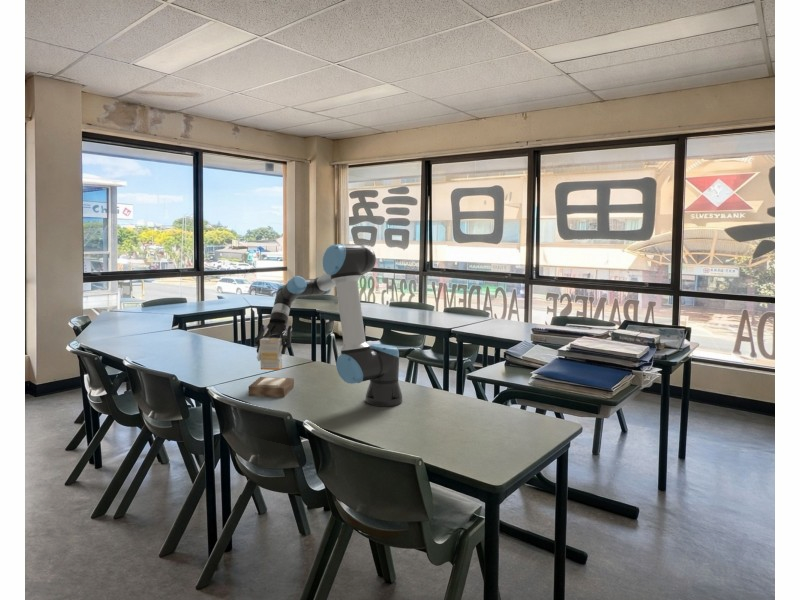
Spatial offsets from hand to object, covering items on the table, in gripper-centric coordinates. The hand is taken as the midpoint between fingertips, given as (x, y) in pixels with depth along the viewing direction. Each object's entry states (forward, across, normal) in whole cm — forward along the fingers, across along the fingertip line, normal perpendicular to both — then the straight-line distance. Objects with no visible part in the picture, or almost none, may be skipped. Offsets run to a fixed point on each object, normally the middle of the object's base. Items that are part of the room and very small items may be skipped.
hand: (268, 359), depth 224 cm
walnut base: (+8, 0, -12) cm, 15 cm away
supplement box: (+1, 0, -6) cm, 6 cm away
